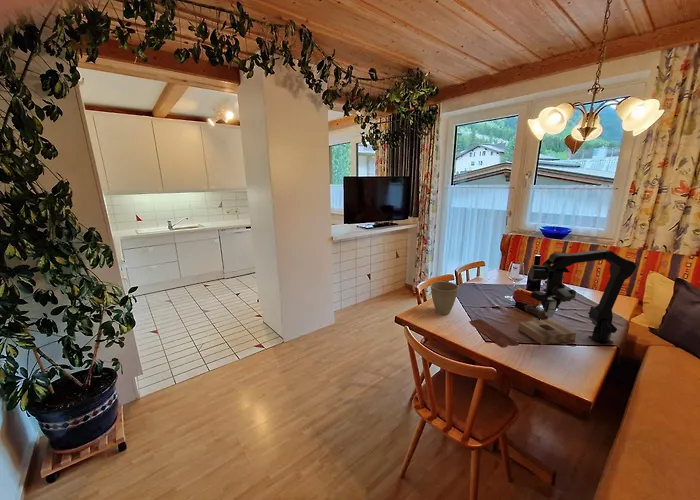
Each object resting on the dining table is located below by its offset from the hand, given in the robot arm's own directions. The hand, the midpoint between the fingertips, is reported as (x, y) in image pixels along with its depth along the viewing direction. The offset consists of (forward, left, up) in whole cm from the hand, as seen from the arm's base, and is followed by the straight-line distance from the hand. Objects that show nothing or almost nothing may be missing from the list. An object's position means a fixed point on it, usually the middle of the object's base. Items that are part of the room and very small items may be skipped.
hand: (549, 311), depth 137 cm
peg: (0, 0, -2) cm, 2 cm away
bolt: (-12, -21, -13) cm, 27 cm away
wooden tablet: (+24, -8, -13) cm, 28 cm away
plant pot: (+36, -33, -12) cm, 51 cm away
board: (0, 0, -12) cm, 12 cm away
